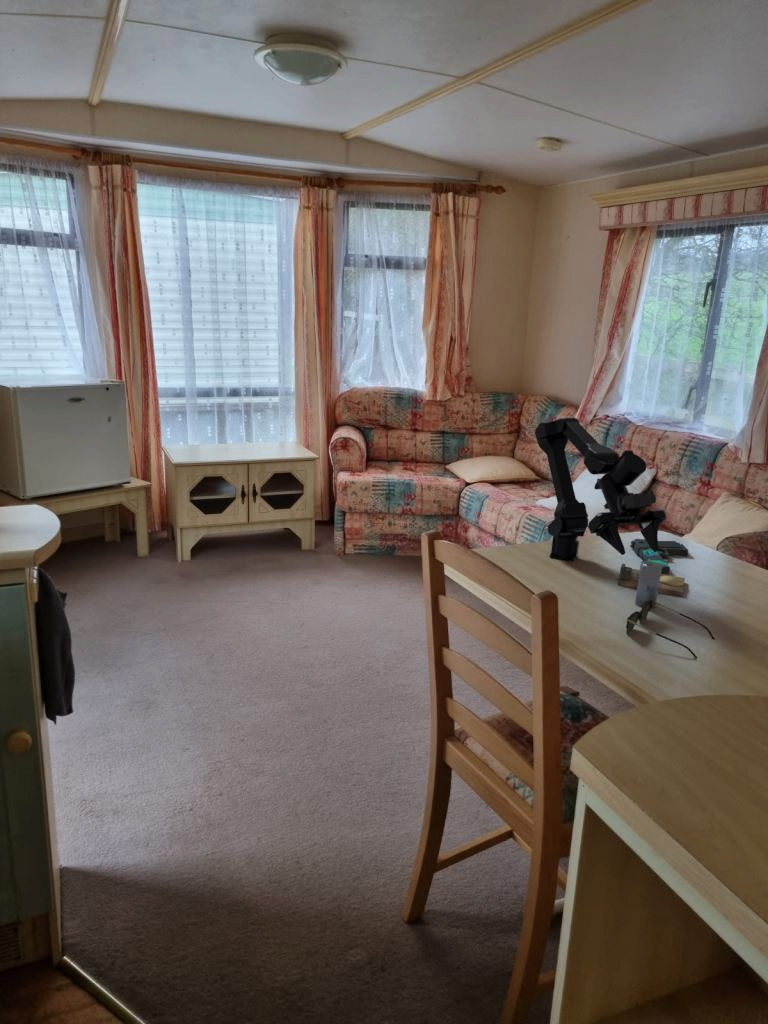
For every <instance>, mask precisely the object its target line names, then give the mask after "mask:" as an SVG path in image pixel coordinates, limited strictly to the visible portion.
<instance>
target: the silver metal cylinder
mask: <svg viewBox="0 0 768 1024" xmlns="http://www.w3.org/2000/svg"><path fill="white" fill-rule="evenodd" d="M639 570H640V573H639V579H638V586H637V588H636V593H635V600H634V604H635V605H636V606H637V607H639V608H642V607H643V606H644V605H645V604H646V603H647V602H648V601H650V600H653V601H654V602H657V601H658V593H659V592H658V589H659V583H660V576H661V570H662V565H661V564H659V563H656V562H652V561H644V560H643V561H641V562H640V568H639ZM657 603H658V602H657ZM656 607H657V604H654V603H652V606H651V609H650V610H652V609H655V608H656Z"/></svg>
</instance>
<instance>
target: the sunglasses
mask: <svg viewBox="0 0 768 1024" xmlns="http://www.w3.org/2000/svg"><path fill="white" fill-rule="evenodd" d="M652 603H654V604H656V606H659V607H662V608H665V609H667V610H669V611H671V612H673V613H676V614H678V615H680V616H681V617H684V618H686V619H688V620H690V621H692V622H694V623H695V624H698V625H700V626H701V627H703V629H705V630H706V631H707V632H708V634H709V636H710V638H711V639H713V640H715V636H714V635H713V634H712V632H711V631H710V629H709V628H708V627H707V626H705V625H704V624H702V623H701V622H699V621H697V620H696V619H693V618H691V617H689V616H687V615H685V614H683V613H681V612H679V611H676V610H675V609H672V608H671V607H668V606H665V605H664V604H661V603H659V602H654V601H653V600H650V601H648V602H647V603H646V604H645V605H644V606H643V607H641V609H640V610H639V611H638V610H637V611H633V612H632V613H631V614H630V615H629V616H628V617H627V618H626V626H625V628H626V631H625V634H626V635H627V633H628V634H629V633H630V632H631V631H632V629H633V630H634V628H635V626H637V627H639V628H641V629H644V630H645V631H648V632H649V633H651V634H654V635H656V636H658V637H661V638H662V639H665V640H668V641H670V642H672V643H674V644H677V645H679V646H682V647H684V648H685V649H686V650H688V651H689V652H690V654H691V655H692V656H693V657H694V658H698V656H697V655H696V654H695V653H694V652H693V650H692V649H691V648H690V647H688V646H687V645H685V644H682V643H681V642H680V641H679V642H678V641H676V640H674V639H671V638H670V637H667V636H665V635H662V634H659V633H658V632H655V631H652V630H650V629H649V628H646V627H644V626H642V625H640V624H642V623H643V622H644V621H646V619H647V617H648V614H649V612H651V610H652V609H651V606H652ZM643 620H644V621H643ZM638 621H639V624H638ZM642 621H643V622H642Z"/></svg>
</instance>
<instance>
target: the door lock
mask: <svg viewBox="0 0 768 1024" xmlns="http://www.w3.org/2000/svg"><path fill="white" fill-rule="evenodd" d="M639 573H640V569H636V568H635V569H634V568H632V567H631V566H630V567H629V566H626V563H622V564H621V566H620V569H619V578H618V580H617V586H623V587H628V588H632V589H637V586H638V579H639ZM684 585H685V577H681V576H676V575H669V574H668V575H665V574H661V576H660V583H659V589H658V593H661V594H665V595H671V596H676V597H683V592H684V587H685V586H684Z"/></svg>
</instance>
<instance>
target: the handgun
mask: <svg viewBox="0 0 768 1024" xmlns="http://www.w3.org/2000/svg"><path fill="white" fill-rule="evenodd" d="M643 538H644V537H643ZM629 547H630V548H631V549H632V550H633V552H634V553H635V555H636V556H637V557H640V559H641V560H643V561H652V562H656V563H659V564H661V565H662V570H661V574H665V575H669V574H670V571H671V570H670V569H671V567H670V566H669V564H667V562H666V560H669V557H683V558H686V557H688V555H689V548H687V547H686V546H685V545H684V544H683V543H680V542H677V541H675V540H658V551H657V552H654V551H653V550H652V549H651V548H650V546H649V544H648V543H647V541H646V540H645V538H644V539H642V538H635V539H634V540H631V541H630V545H629Z"/></svg>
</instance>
